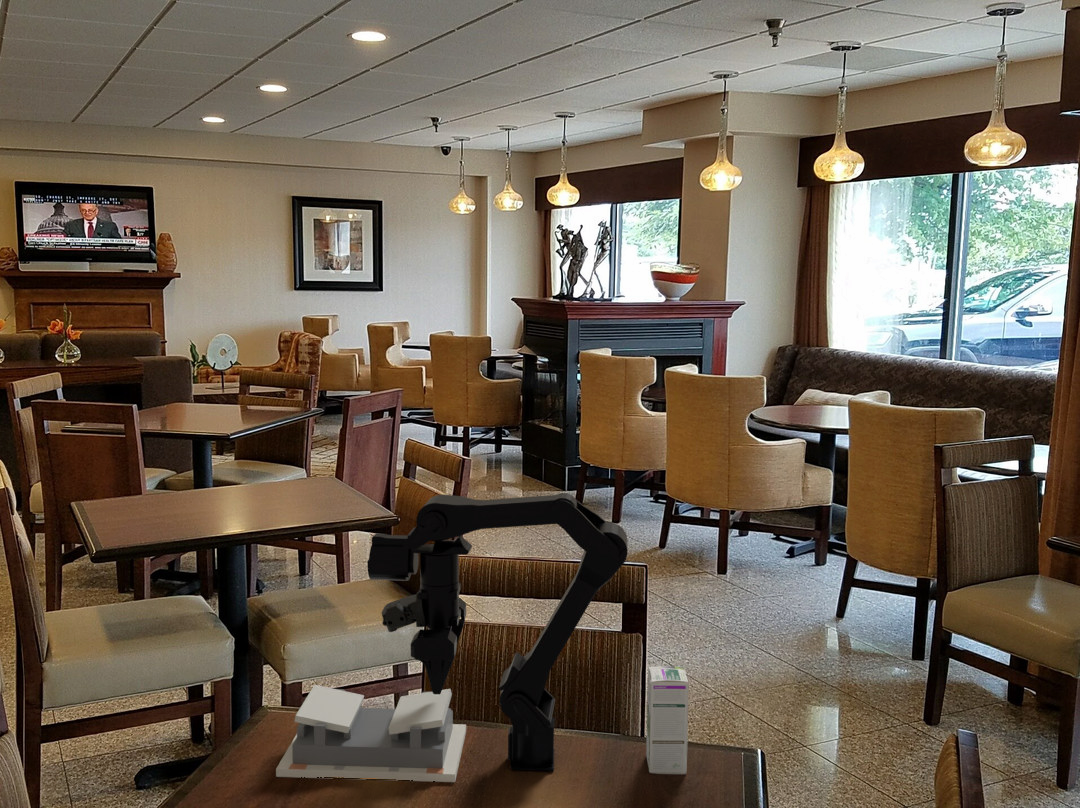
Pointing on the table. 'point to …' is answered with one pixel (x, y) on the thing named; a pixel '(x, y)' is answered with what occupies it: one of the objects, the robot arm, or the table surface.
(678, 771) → the syrup box
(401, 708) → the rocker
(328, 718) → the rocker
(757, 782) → the table surface
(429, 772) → the box
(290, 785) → the table surface
